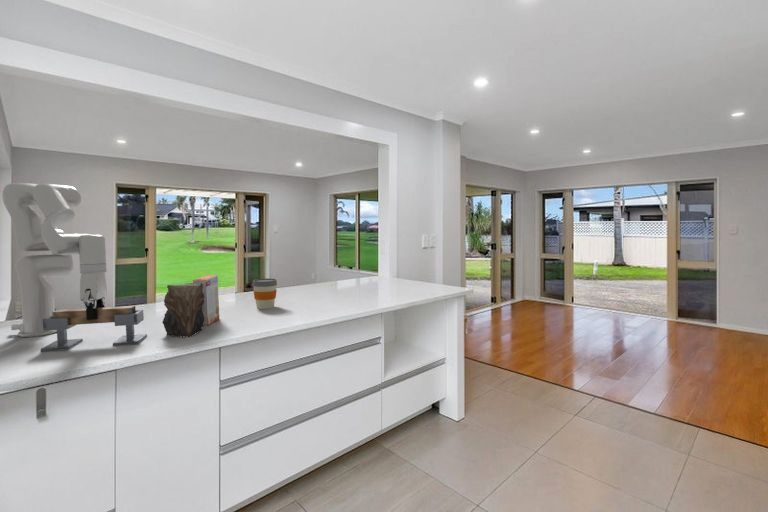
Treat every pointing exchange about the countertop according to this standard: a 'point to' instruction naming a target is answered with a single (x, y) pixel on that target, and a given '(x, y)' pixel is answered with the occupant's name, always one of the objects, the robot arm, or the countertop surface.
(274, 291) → the reusable coffee cup
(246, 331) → the countertop surface
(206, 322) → the cracker box
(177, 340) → the countertop surface
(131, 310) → the rail
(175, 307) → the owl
